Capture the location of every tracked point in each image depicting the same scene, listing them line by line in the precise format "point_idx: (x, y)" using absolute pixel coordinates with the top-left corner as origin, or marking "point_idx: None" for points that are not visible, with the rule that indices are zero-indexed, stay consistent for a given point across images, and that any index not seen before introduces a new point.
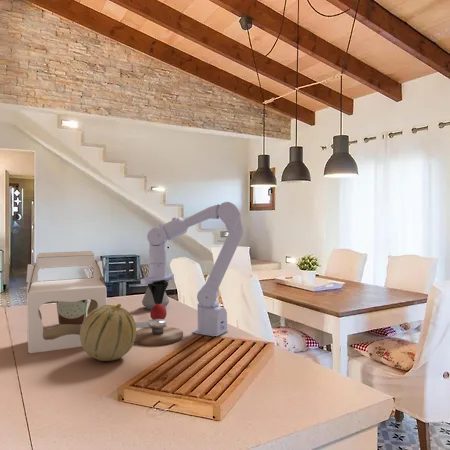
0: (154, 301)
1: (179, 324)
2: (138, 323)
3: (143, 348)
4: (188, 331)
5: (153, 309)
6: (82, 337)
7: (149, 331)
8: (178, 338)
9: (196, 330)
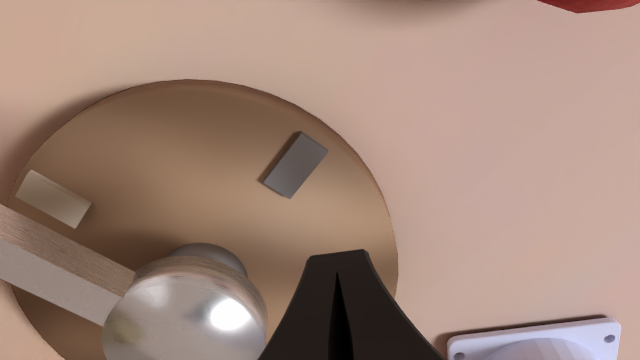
0: (302, 278)
1: (615, 101)
2: (10, 280)
3: (20, 343)
4: (469, 292)
5: None
6: None
7: (186, 200)
8: None
9: (483, 350)
